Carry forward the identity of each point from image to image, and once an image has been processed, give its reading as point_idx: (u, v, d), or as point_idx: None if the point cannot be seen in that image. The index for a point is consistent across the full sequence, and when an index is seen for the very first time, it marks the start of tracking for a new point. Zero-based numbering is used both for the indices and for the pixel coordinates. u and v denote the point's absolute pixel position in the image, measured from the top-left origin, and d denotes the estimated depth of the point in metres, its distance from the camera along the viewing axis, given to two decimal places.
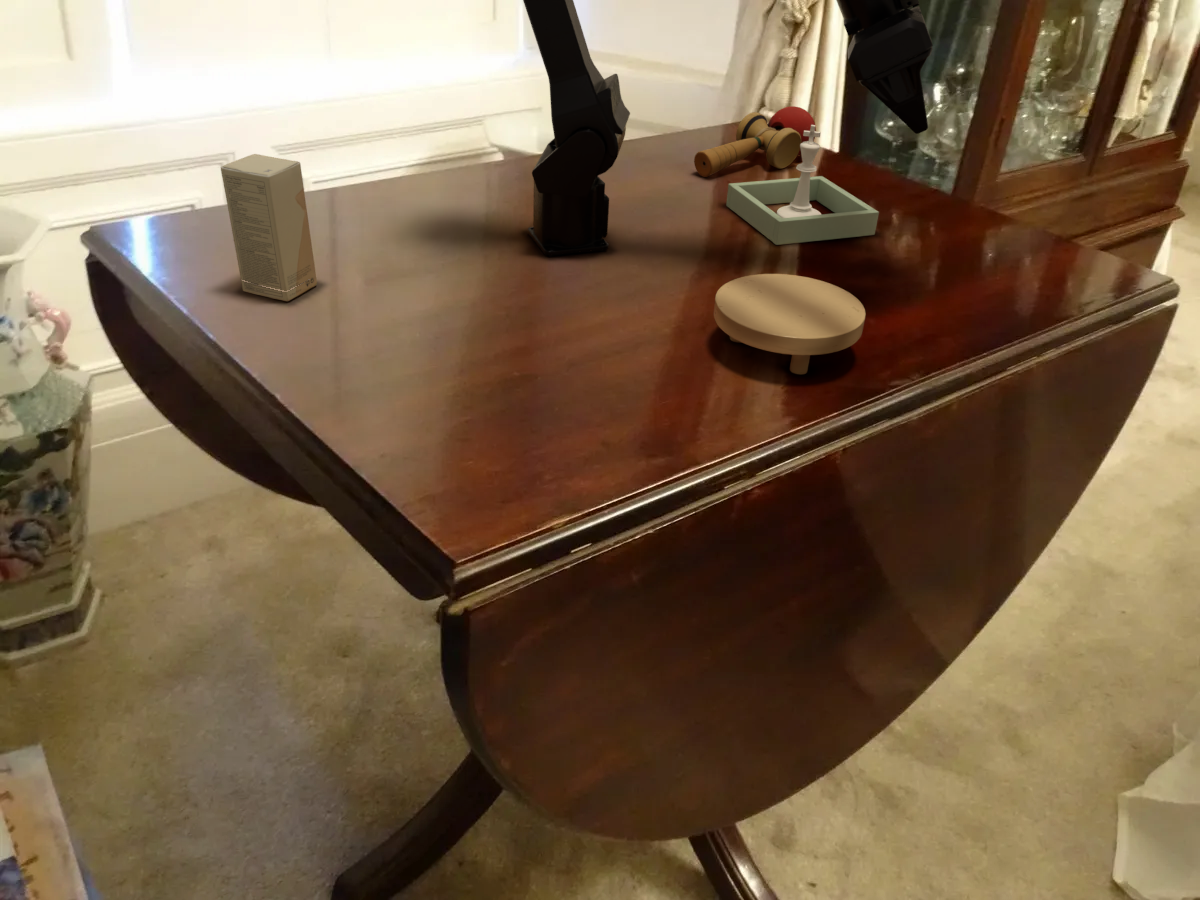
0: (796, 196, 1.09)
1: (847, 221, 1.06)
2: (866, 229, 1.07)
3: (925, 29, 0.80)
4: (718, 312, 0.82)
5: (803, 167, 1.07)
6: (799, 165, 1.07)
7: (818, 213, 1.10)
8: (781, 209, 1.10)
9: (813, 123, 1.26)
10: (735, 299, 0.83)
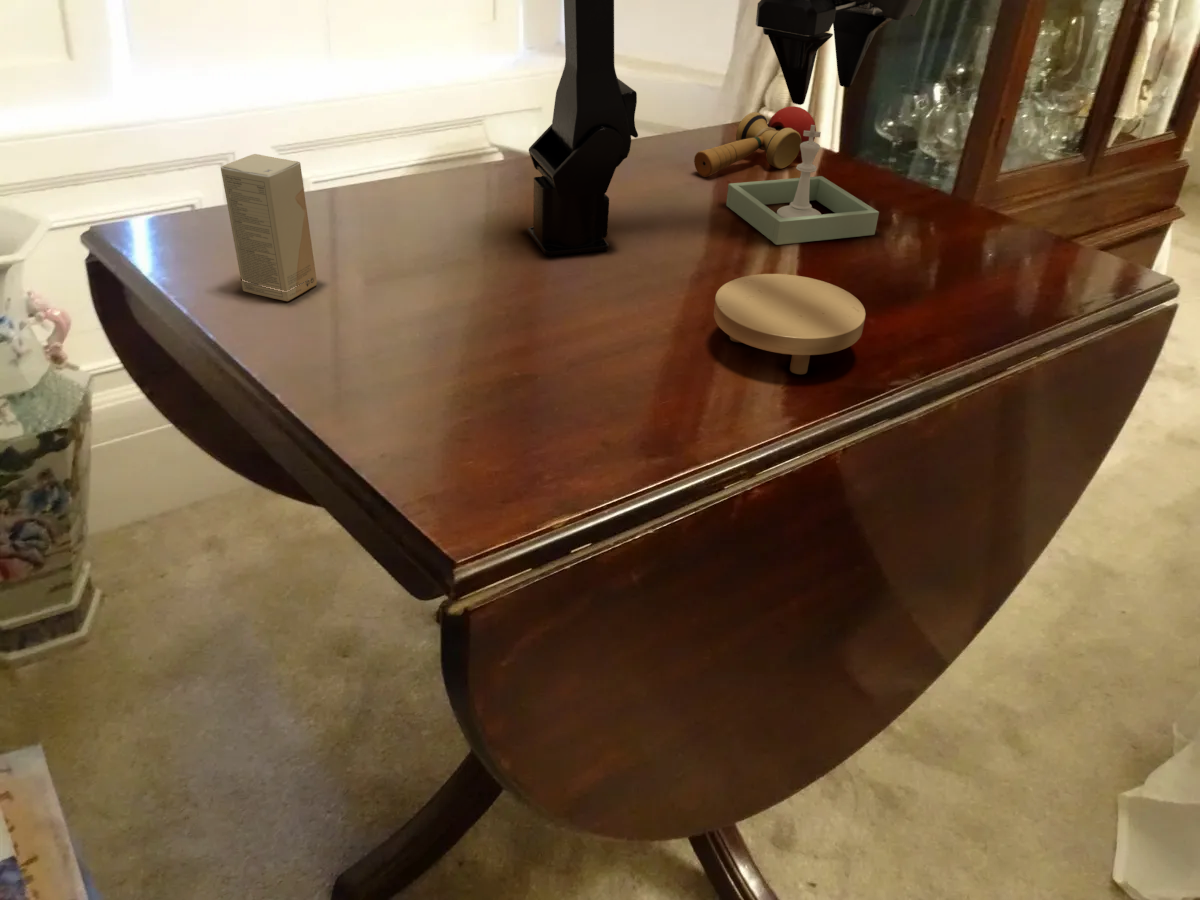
0: (796, 196, 1.09)
1: (847, 221, 1.06)
2: (866, 229, 1.07)
3: (814, 18, 0.91)
4: (718, 312, 0.82)
5: (803, 167, 1.07)
6: (799, 165, 1.07)
7: (818, 213, 1.10)
8: (781, 209, 1.10)
9: (813, 123, 1.26)
10: (735, 299, 0.83)
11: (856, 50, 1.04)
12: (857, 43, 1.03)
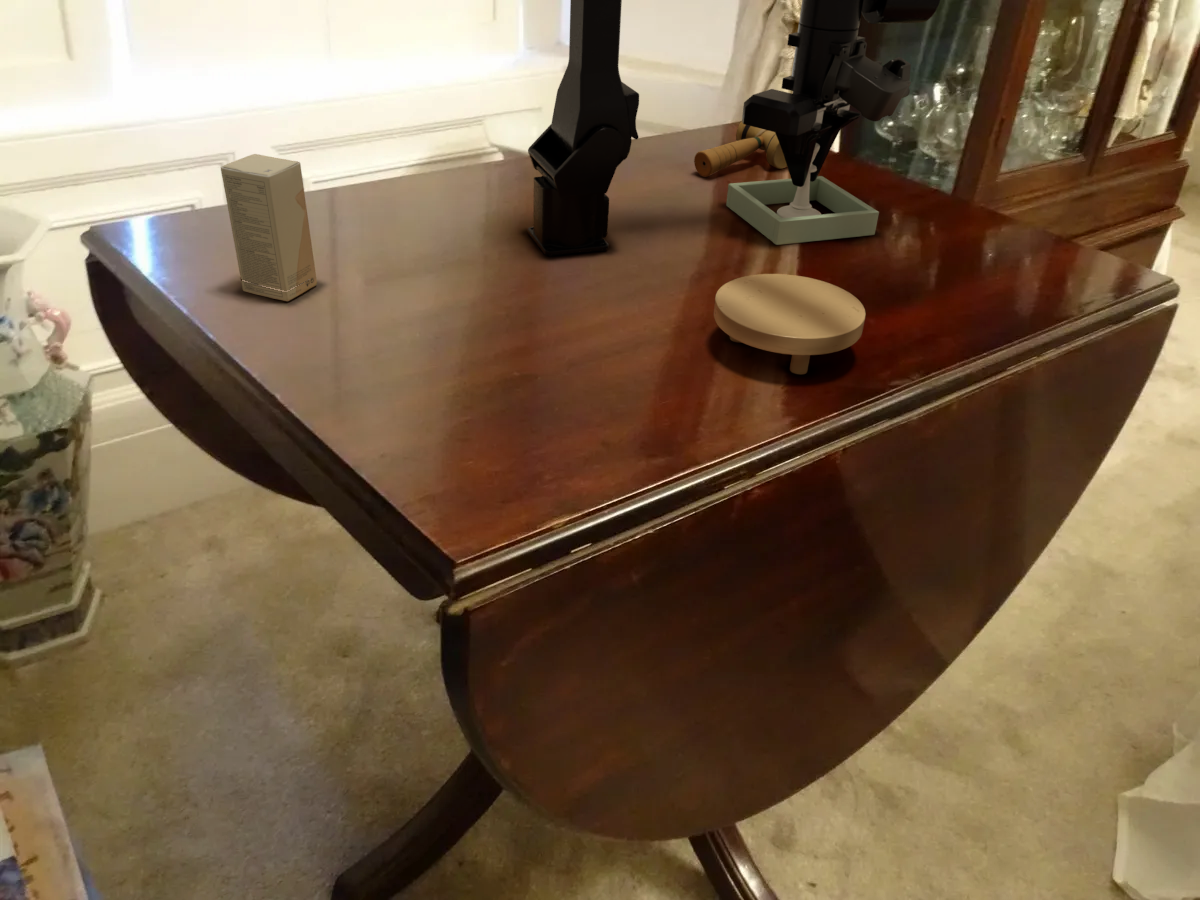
0: (796, 196, 1.09)
1: (847, 221, 1.06)
2: (866, 229, 1.07)
3: (797, 120, 0.96)
4: (718, 312, 0.82)
5: None
6: None
7: (818, 213, 1.10)
8: (781, 209, 1.10)
9: None
10: (735, 299, 0.83)
11: (821, 147, 1.07)
12: (822, 141, 1.07)
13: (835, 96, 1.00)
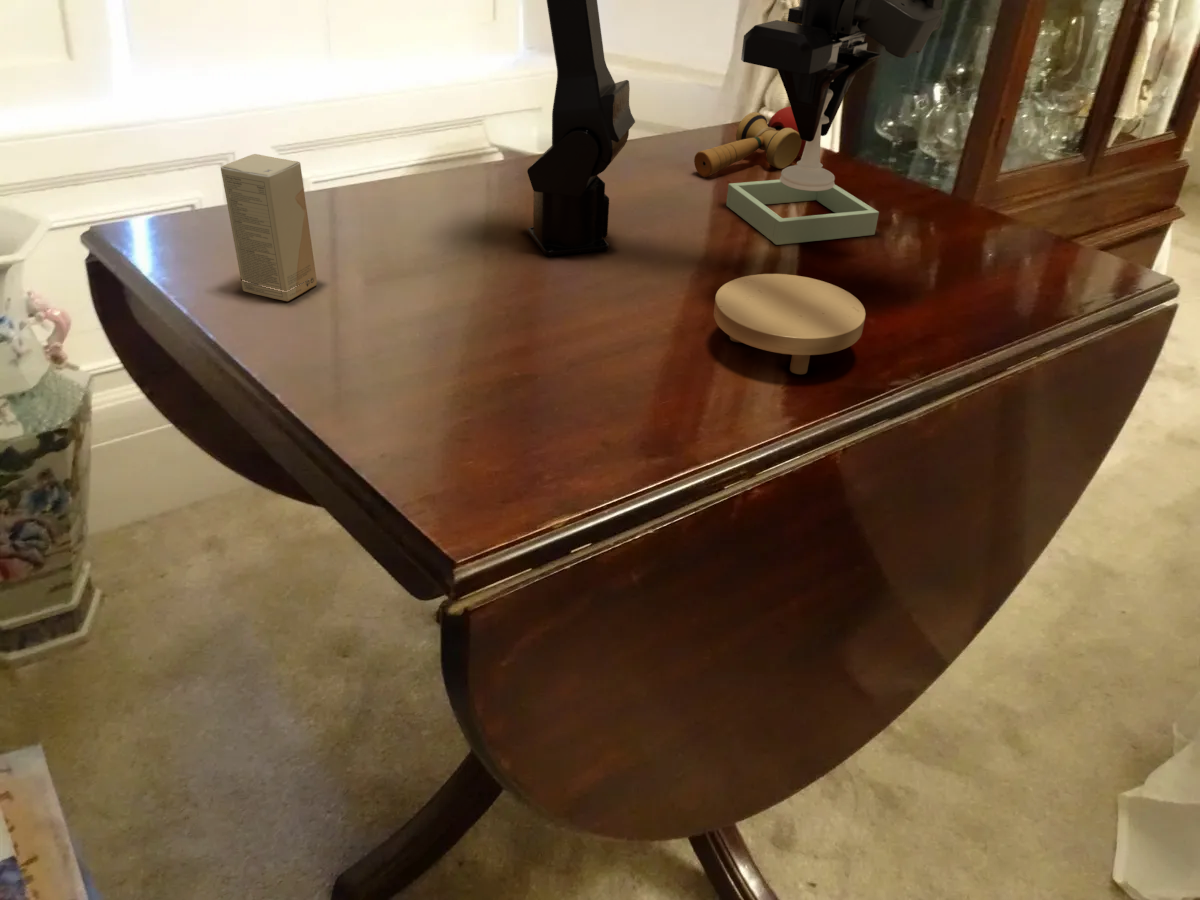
0: (804, 153, 0.92)
1: (847, 221, 1.06)
2: (866, 229, 1.07)
3: (809, 55, 0.79)
4: (718, 312, 0.82)
5: None
6: None
7: (830, 174, 0.93)
8: (786, 169, 0.93)
9: None
10: (735, 299, 0.83)
11: (833, 94, 0.90)
12: (834, 86, 0.90)
13: (853, 28, 0.83)
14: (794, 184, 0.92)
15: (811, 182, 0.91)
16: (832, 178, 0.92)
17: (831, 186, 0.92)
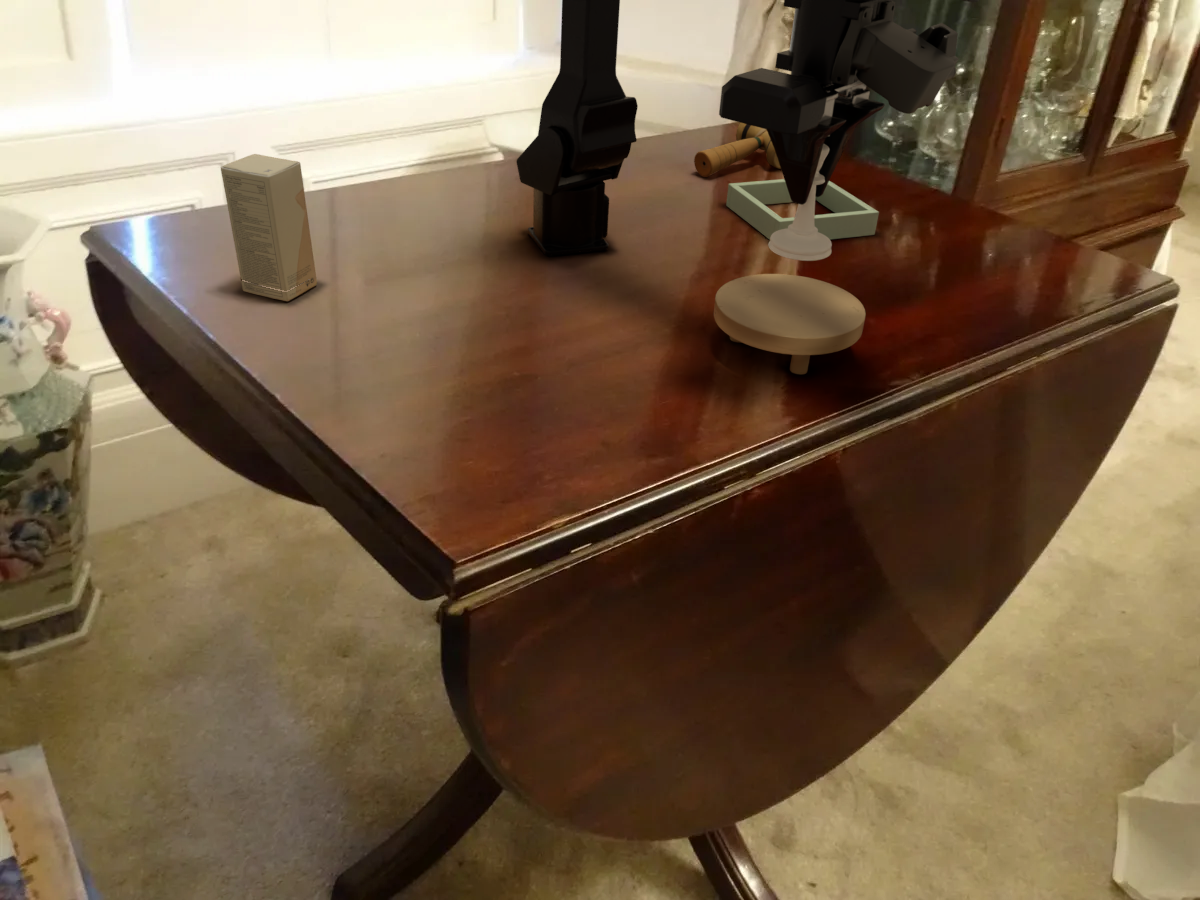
0: (797, 217, 0.79)
1: (847, 221, 1.06)
2: (866, 229, 1.07)
3: (798, 112, 0.67)
4: (718, 312, 0.82)
5: None
6: None
7: (827, 240, 0.80)
8: (776, 234, 0.81)
9: None
10: (735, 299, 0.83)
11: (830, 150, 0.78)
12: (831, 141, 0.77)
13: (851, 78, 0.70)
14: (784, 252, 0.79)
15: (803, 251, 0.79)
16: (828, 245, 0.80)
17: (827, 254, 0.80)
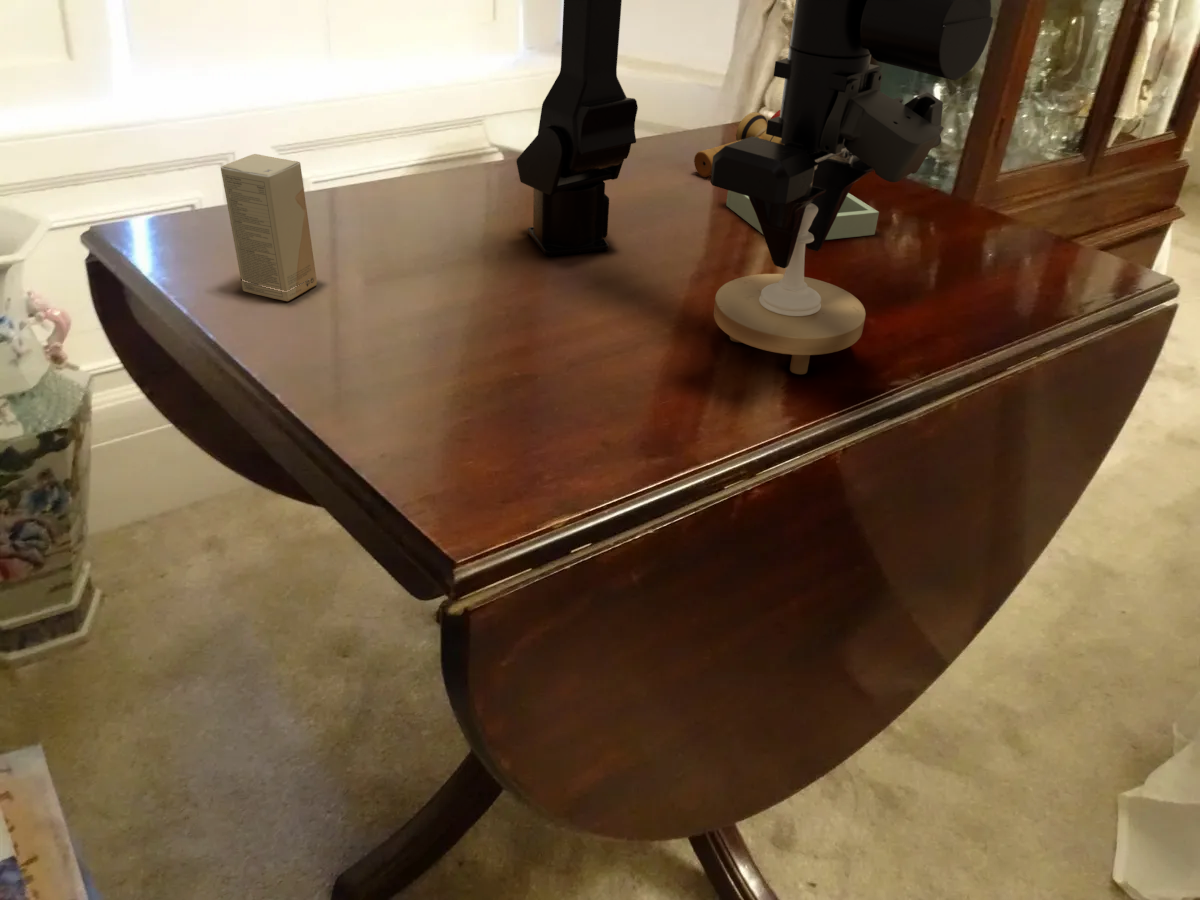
0: (787, 273, 0.81)
1: (847, 221, 1.06)
2: (866, 229, 1.07)
3: (786, 183, 0.69)
4: (718, 312, 0.82)
5: None
6: None
7: (816, 295, 0.82)
8: (767, 289, 0.83)
9: None
10: (735, 299, 0.83)
11: (827, 207, 0.80)
12: (829, 199, 0.80)
13: (839, 147, 0.72)
14: (774, 308, 0.81)
15: (793, 307, 0.81)
16: (818, 301, 0.82)
17: (816, 310, 0.82)
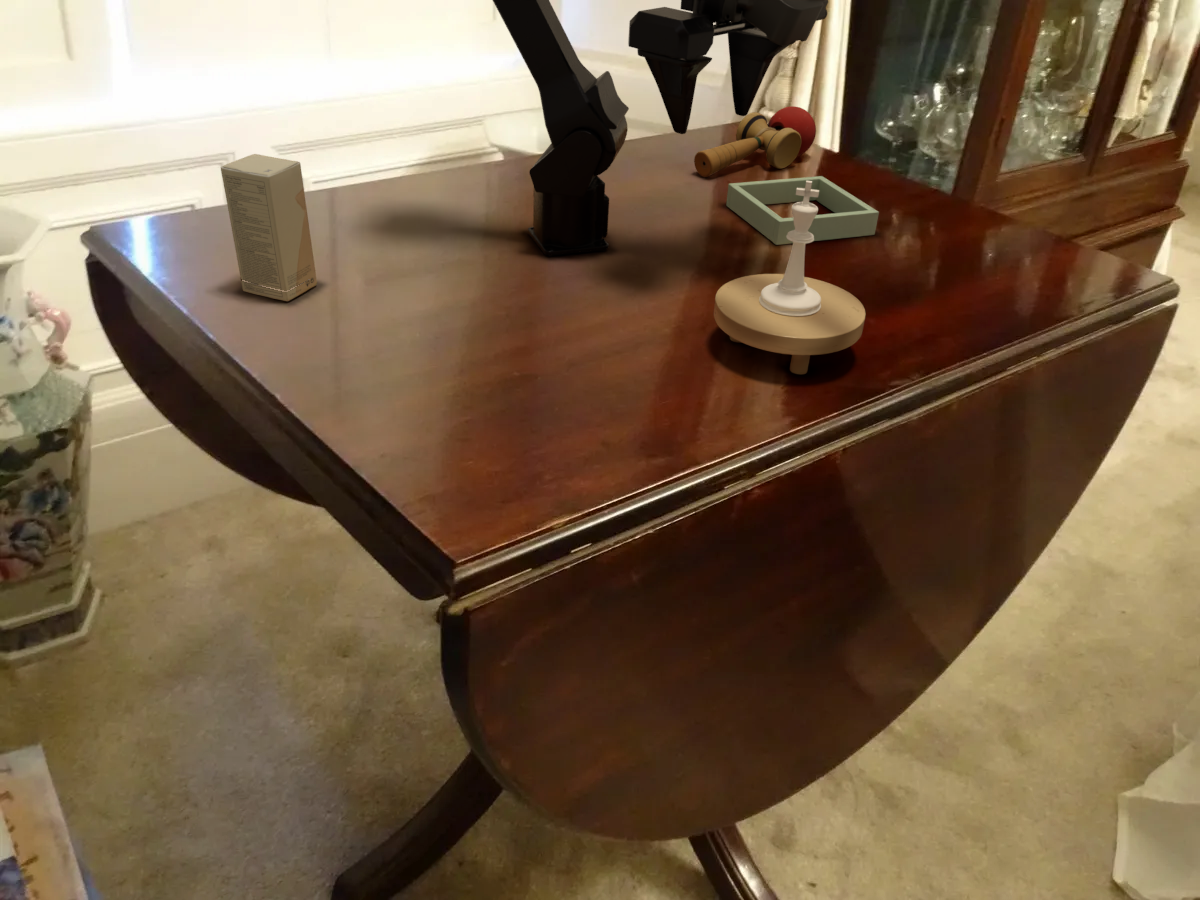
0: (786, 273, 0.81)
1: (847, 221, 1.06)
2: (866, 229, 1.07)
3: (686, 40, 0.82)
4: (718, 312, 0.82)
5: (796, 237, 0.79)
6: (790, 233, 0.80)
7: (816, 295, 0.82)
8: (767, 289, 0.83)
9: (813, 123, 1.26)
10: (735, 299, 0.83)
11: (752, 76, 0.94)
12: (753, 68, 0.94)
13: (738, 16, 0.85)
14: (774, 308, 0.81)
15: (793, 307, 0.81)
16: (818, 301, 0.82)
17: (816, 310, 0.82)
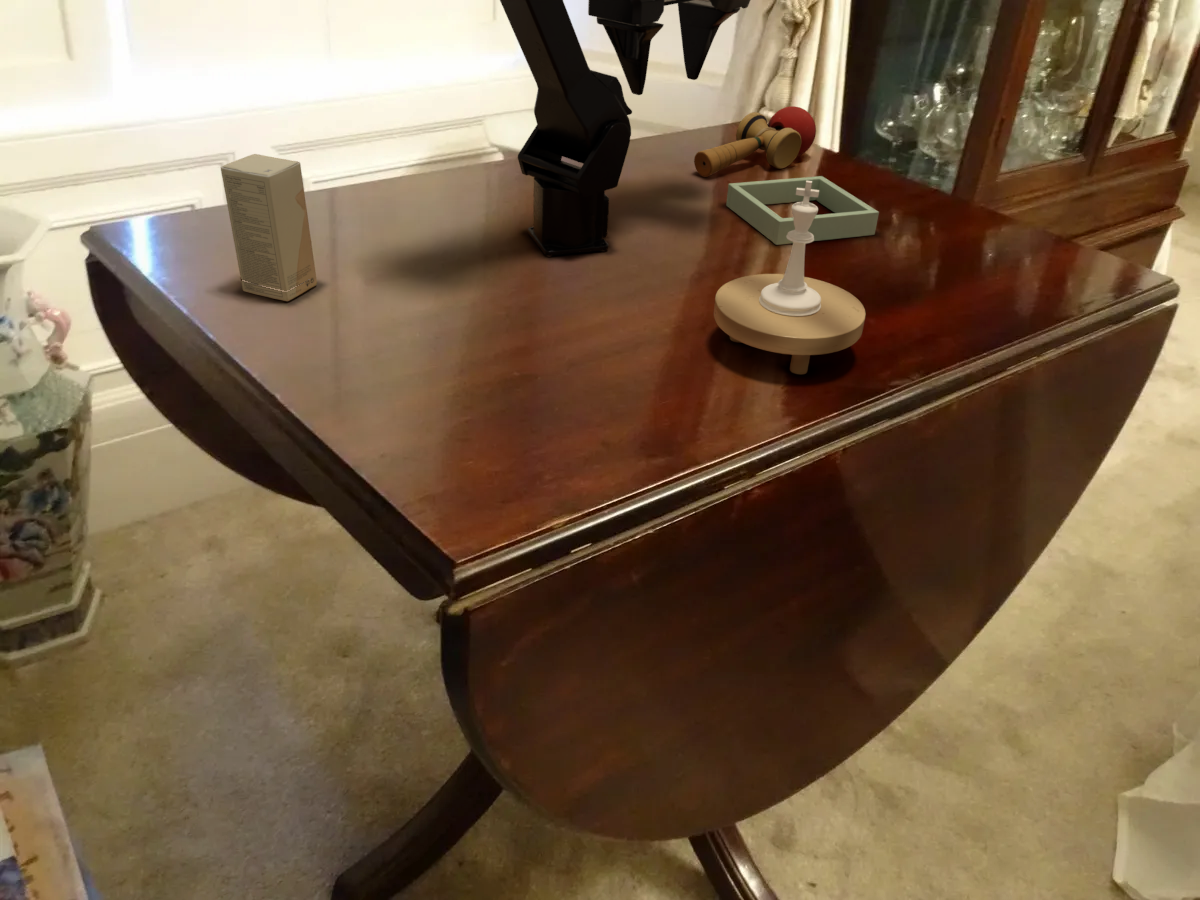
0: (786, 273, 0.81)
1: (847, 221, 1.06)
2: (866, 229, 1.07)
3: (639, 7, 0.92)
4: (718, 312, 0.82)
5: (796, 237, 0.79)
6: (790, 233, 0.80)
7: (816, 295, 0.82)
8: (767, 289, 0.83)
9: (813, 123, 1.26)
10: (735, 299, 0.83)
11: (700, 43, 1.04)
12: (701, 36, 1.04)
13: None
14: (774, 308, 0.81)
15: (793, 307, 0.81)
16: (818, 301, 0.82)
17: (816, 310, 0.82)
